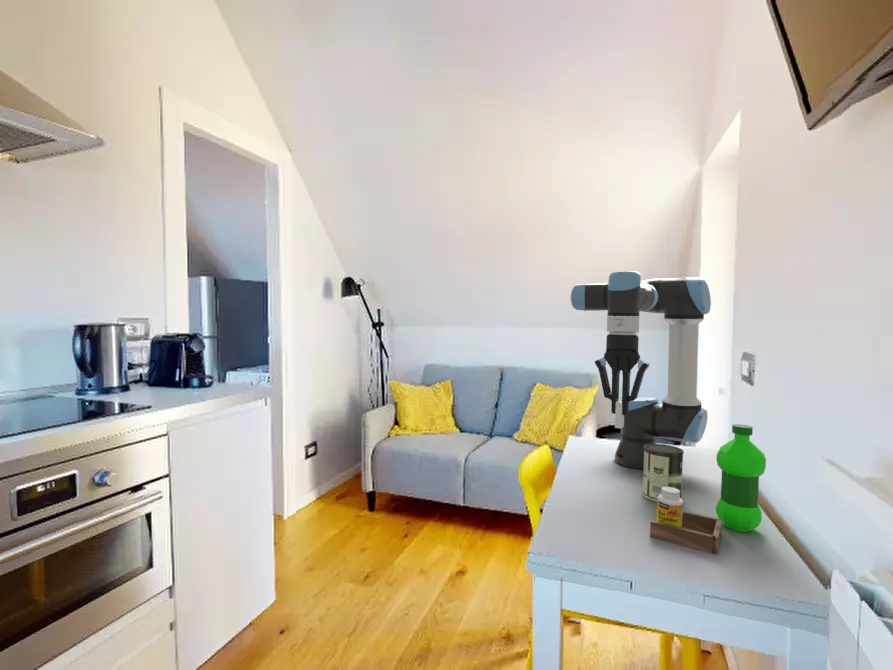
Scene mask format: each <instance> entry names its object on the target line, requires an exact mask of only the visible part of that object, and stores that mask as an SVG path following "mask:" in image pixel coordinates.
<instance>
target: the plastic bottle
mask: <svg viewBox="0 0 893 670" xmlns="http://www.w3.org/2000/svg"><path fill="white" fill-rule="evenodd" d="M731 428H732V431H731V432H732V434H734V438H733V439H731V440H729V441H727V442H726V443H724V444H723V445H722V446H720V448H719V449H718V451H717V452H716V463H717V466H718V467H719V469H720V470H721V484H720V497H719V499H718V501H717V503H716V506H715V513H716V516H717V518H718V519H722V524H724V525H725V527H727V528H729V529H731V530H733V531H736V532H741V533H742V532H743V533H748V532H747V531H749V532H750V531H752V530H755V529H756V528H757V527H759V526H760V524H761V522H762V519H763V517H762V515H763V512H762V509H761V506H760V505H759V489H760V488H759V486H760V477H761V476H763V474H765V470H766V467H767V458H766V456H765V453H764V452H763V451H762V450H761V449H760V448H759V447H758V446H756V445H755V444H754V442H752V441H751V440H750V439H751V438H750V437H751V436H753V429H754V428H753V426H751V425H748V424H739V423H735V424H732V427H731Z"/></svg>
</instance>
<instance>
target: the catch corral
mask: <svg viewBox="0 0 893 670" xmlns="http://www.w3.org/2000/svg"><path fill="white" fill-rule="evenodd" d="M687 528H688V529H687ZM722 528H723V522H722V519H719V518H718V517H717V518H716V517H712V516H707V515H705V514H704V515H703V514H701V513H700V514H699V513H694V512H690V511H686V510H683V516H682V528H681V527H677V526H673V525H668V524H664V523H660V522H656V520H650V529H649V537H650V538H654V539H658V540H660V541H661V540H662V541H665V542H668V543H672V544H676V545H679V546H684V547H688V548H692V549H695V550H699V551H703V552H706V553H711V554H714V555H718V552H719V547H720V543H721V538H722V531H723V530H722ZM692 529H693V530H692Z"/></svg>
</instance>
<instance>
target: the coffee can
mask: <svg viewBox="0 0 893 670" xmlns="http://www.w3.org/2000/svg"><path fill="white" fill-rule="evenodd" d="M684 453H685V452H684V449H682V448H680V447H677V446H674V445H669V444H662V443H656V444H647V445H644V469H643V477H642V478H643V479H642V482H643V483H642V496H643V497H644V498H645V499H648V500H649V501H652V502H655V503H657V497H658V496H659V495H660V494H661V489H662V487H673V488H676V489H678V490H679V491H680V498H681V499H682V489H683V488H682V486H683V463H684Z"/></svg>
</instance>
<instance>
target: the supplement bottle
mask: <svg viewBox="0 0 893 670" xmlns="http://www.w3.org/2000/svg"><path fill="white" fill-rule="evenodd" d="M683 508H684V500H683V499H682V497H681V498H680V491H679V490H678V489H676V488H673V487H662V489H661V494H660V495H659V496H658V497H657V502H656V515H655V516H656V518H655V519H656V520H655V521H656V522H660V523H664V524H668V525H673V526H677V527H681V528H683V526H682V516H683V511H684V509H683Z"/></svg>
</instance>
